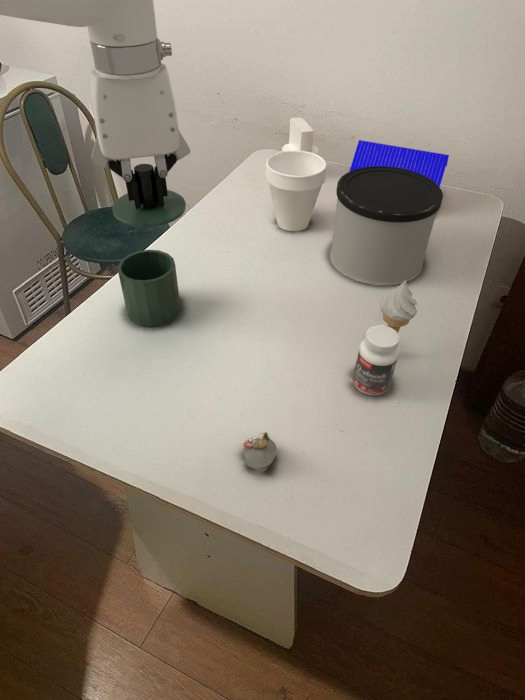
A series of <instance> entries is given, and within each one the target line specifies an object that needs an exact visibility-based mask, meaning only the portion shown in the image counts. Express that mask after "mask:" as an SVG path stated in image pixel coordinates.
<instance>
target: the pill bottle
mask: <svg viewBox="0 0 525 700" xmlns="http://www.w3.org/2000/svg"><path fill="white" fill-rule="evenodd" d="M399 342H400V334H399V332H398V333H397V332H396V331H395V330H394V329H392V328H390V327H388V325H383V324H377V325H372V326H371V327H369V328H368V329H367V330H366V331H365V336H364V339H363V340H362V341H361V342H360V344H359V347H358V350H357V351H358V352H357V356H356V360H355V366H354V370H353V375H352V383H353V384H354V386H355V388H356V389H357V390H358V391H360V392H361V393H362V394H365V395H368V396H378V395H382V394H385V393H386V392H387V391H388V390H389V389H390V387H391V384H392V380H393V376H394V373H395V369H396V366H397V363H398V360H399V354H400V352H399V351H400V350H399V344H400V343H399Z"/></svg>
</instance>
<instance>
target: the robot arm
mask: <svg viewBox="0 0 525 700" xmlns="http://www.w3.org/2000/svg"><path fill="white" fill-rule="evenodd" d="M0 16H4V17H10V18H17V19H22V20H29V21H33V22H35V21H36V22H41V23H47V24H53V25H54V24H55V25H60V26H61V25H62V26H66V27H72V28H73V27H75V28H87V33H88V38H89V42H90V48H91V52H92V58H93V63H94V66H93V67H91V68H90V69H89V74H88V75H89V92H90V102H91V108H92V114H93V120H94V127H95V132H96V137H95V140H94V143H93V147H92V152H91V155H90V158H91V163H93V165H96V166H99V167H102V168H105V169H106V168H107V169H109V170H110V171H112V172H113V173H115V174H116V175H117V176H119V177H120V178H121V179H122V180H123V181H124V182H125V186H126V194H127V193H128V198H129V201H132V200H134V203H135V207H136V209H139V208H140V207H141V205H140V198H139V192H138V186H137V181H136V178H135V173H134V169H132V163H131V159H138V158H139V159H140V158H148V157H153V158H154V163H155V166H154V175H155V183H156V190H157V197H158V203H159V205H161V206H163V205H164V198H163V197H165V196H168V193H167V190H168V185H167V177H168V175H169V172H170V171H171V170H172V168H173V167H174V166H175V165H176V163H177V162H178V161H179V160H182V159H183V158H185V157H187V156H189V155H190V153H191V148H190V146H189V144H188V143H187V141H186V139H185V137H184V136H183V135H182V132H181V131H180V128H179V122H178V115H177V109H176V108H177V107H176V102H175V98H174V94H173V89H172V84H171V83H172V82H171V79H170V75H169V72H168V68H167V66H166V64H165V63H163V62H162V61H163V60H164V58H166V57H172V56H173V49H172V44H171V42H164V41H161V40H160V39H159V38H158V31H157V21H156V13H155V4H154V0H0Z"/></svg>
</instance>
